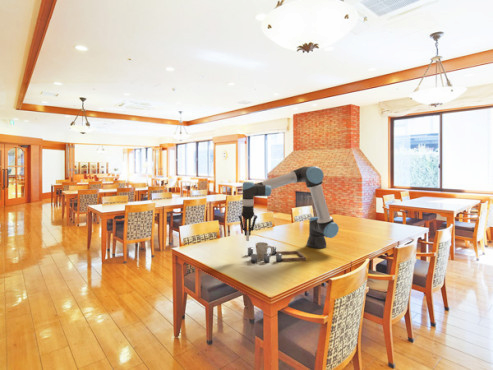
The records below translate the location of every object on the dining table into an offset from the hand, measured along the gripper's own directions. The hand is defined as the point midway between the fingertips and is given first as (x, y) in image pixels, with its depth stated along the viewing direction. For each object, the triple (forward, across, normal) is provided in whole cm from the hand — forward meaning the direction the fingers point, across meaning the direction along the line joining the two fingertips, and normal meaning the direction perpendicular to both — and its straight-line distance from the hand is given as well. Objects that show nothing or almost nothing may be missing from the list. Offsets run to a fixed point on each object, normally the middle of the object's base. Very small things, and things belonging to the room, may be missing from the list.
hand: (247, 240), depth 184 cm
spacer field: (+13, -12, 0) cm, 17 cm away
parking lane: (+12, -29, 0) cm, 32 cm away
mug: (+13, -12, 0) cm, 17 cm away
